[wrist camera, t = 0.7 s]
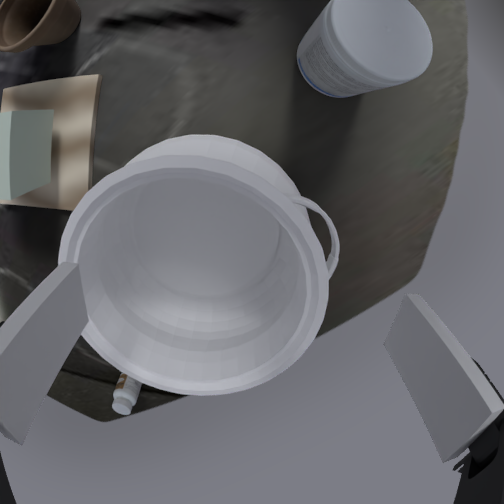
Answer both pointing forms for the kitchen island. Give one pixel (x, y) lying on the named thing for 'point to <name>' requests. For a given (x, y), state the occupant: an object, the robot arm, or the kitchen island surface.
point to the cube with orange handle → (24, 151)
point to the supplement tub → (364, 47)
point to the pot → (199, 266)
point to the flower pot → (36, 23)
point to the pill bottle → (125, 394)
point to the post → (61, 136)
